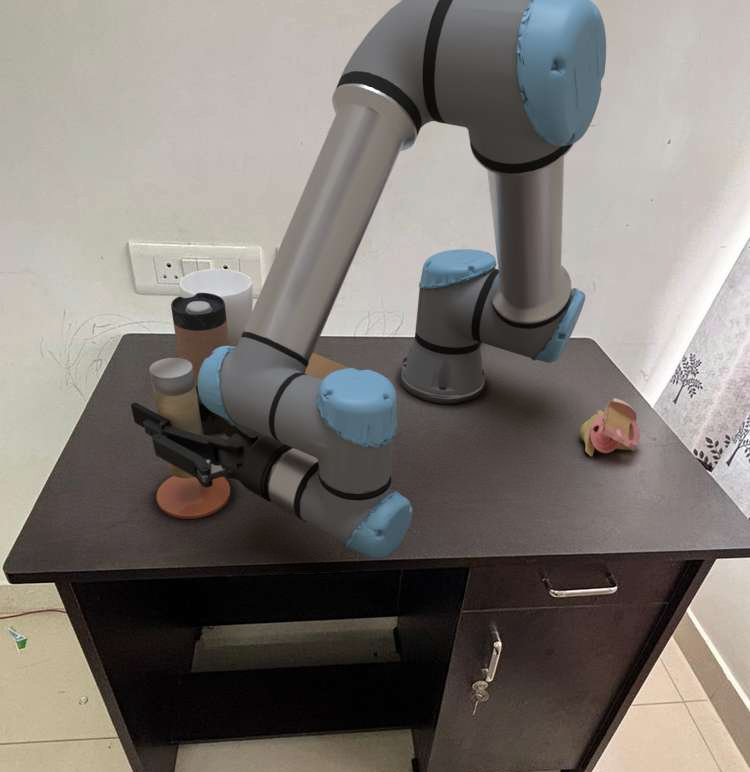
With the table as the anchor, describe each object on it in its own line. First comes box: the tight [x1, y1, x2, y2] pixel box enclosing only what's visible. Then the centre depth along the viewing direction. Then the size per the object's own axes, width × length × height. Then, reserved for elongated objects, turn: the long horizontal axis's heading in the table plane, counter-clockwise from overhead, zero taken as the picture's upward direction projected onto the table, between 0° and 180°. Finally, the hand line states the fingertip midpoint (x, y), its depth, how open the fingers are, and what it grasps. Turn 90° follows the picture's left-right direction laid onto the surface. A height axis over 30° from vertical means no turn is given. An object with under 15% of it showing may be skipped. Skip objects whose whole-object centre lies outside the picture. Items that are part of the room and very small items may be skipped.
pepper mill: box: [148, 357, 206, 478], centre depth 81 cm, size 14×5×14 cm
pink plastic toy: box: [579, 397, 640, 457], centre depth 101 cm, size 9×10×10 cm
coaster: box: [156, 475, 231, 520], centre depth 88 cm, size 10×10×1 cm
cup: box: [178, 268, 254, 344], centre depth 109 cm, size 12×12×17 cm
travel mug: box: [170, 293, 231, 434], centre depth 96 cm, size 8×8×20 cm
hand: (153, 403), depth 82 cm, fingers closed on pepper mill, 5 cm apart
